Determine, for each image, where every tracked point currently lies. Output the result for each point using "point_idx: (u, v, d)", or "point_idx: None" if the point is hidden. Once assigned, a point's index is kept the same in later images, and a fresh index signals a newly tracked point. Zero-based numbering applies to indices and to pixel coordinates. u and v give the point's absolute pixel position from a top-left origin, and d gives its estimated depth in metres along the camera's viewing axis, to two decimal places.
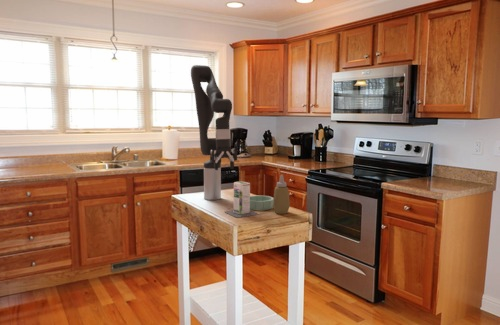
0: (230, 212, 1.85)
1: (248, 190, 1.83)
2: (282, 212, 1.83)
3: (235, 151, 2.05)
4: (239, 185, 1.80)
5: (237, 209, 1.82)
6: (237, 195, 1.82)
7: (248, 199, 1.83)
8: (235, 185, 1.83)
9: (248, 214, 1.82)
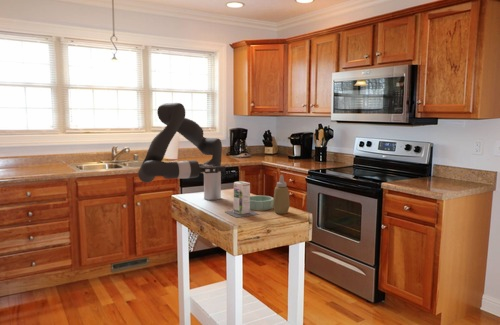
0: (230, 212, 1.85)
1: (248, 190, 1.83)
2: (282, 212, 1.83)
3: None
4: (239, 185, 1.80)
5: (237, 209, 1.82)
6: (237, 195, 1.82)
7: (248, 199, 1.83)
8: (235, 185, 1.83)
9: (248, 214, 1.82)
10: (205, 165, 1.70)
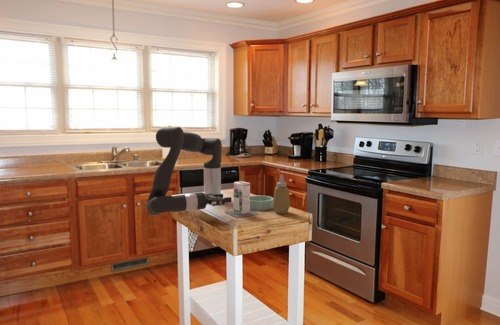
0: (230, 212, 1.85)
1: (248, 190, 1.83)
2: (282, 212, 1.83)
3: None
4: (239, 185, 1.80)
5: (237, 209, 1.82)
6: (237, 195, 1.82)
7: (248, 199, 1.83)
8: (235, 185, 1.83)
9: (248, 214, 1.82)
10: (212, 197, 1.74)
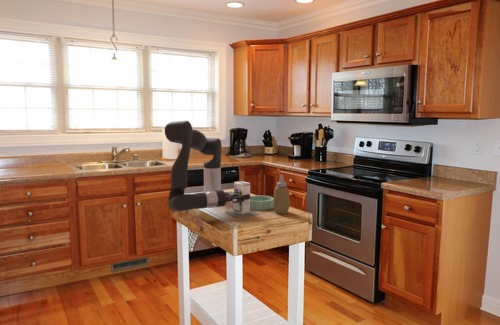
0: (230, 212, 1.85)
1: (248, 190, 1.82)
2: (282, 212, 1.83)
3: None
4: (239, 185, 1.80)
5: (237, 209, 1.82)
6: None
7: (248, 199, 1.83)
8: (235, 185, 1.82)
9: (248, 214, 1.82)
10: (231, 194, 1.78)
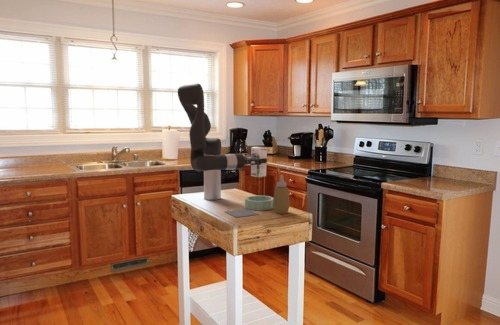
0: (230, 212, 1.85)
1: (265, 154, 1.93)
2: (282, 212, 1.83)
3: None
4: (257, 149, 1.91)
5: (254, 172, 1.93)
6: None
7: (265, 163, 1.93)
8: (253, 150, 1.93)
9: (248, 214, 1.82)
10: (249, 158, 1.89)
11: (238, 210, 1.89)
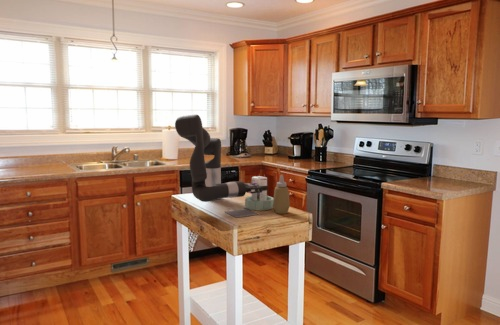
0: (230, 212, 1.85)
1: (265, 184, 1.95)
2: (282, 212, 1.83)
3: None
4: (257, 179, 1.93)
5: None
6: None
7: (265, 193, 1.96)
8: (253, 179, 1.95)
9: (248, 214, 1.82)
10: (250, 185, 1.91)
11: (238, 210, 1.89)
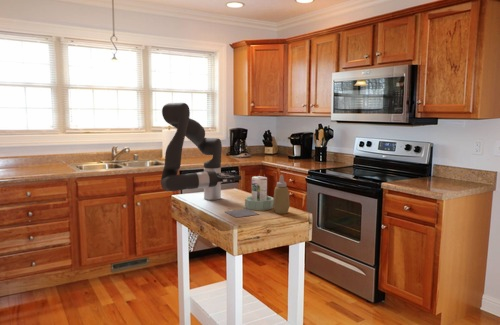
0: (230, 212, 1.85)
1: (265, 184, 1.95)
2: (282, 212, 1.83)
3: None
4: (257, 179, 1.93)
5: None
6: (255, 188, 1.95)
7: (265, 193, 1.96)
8: (253, 179, 1.95)
9: (248, 214, 1.82)
10: (222, 175, 1.82)
11: (238, 210, 1.89)
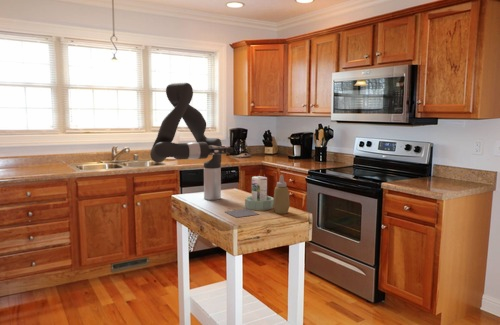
0: (230, 212, 1.85)
1: (265, 184, 1.95)
2: (282, 212, 1.83)
3: None
4: (257, 179, 1.93)
5: None
6: (255, 188, 1.95)
7: (265, 193, 1.96)
8: (253, 179, 1.95)
9: (248, 214, 1.82)
10: (214, 146, 1.77)
11: (238, 210, 1.89)
